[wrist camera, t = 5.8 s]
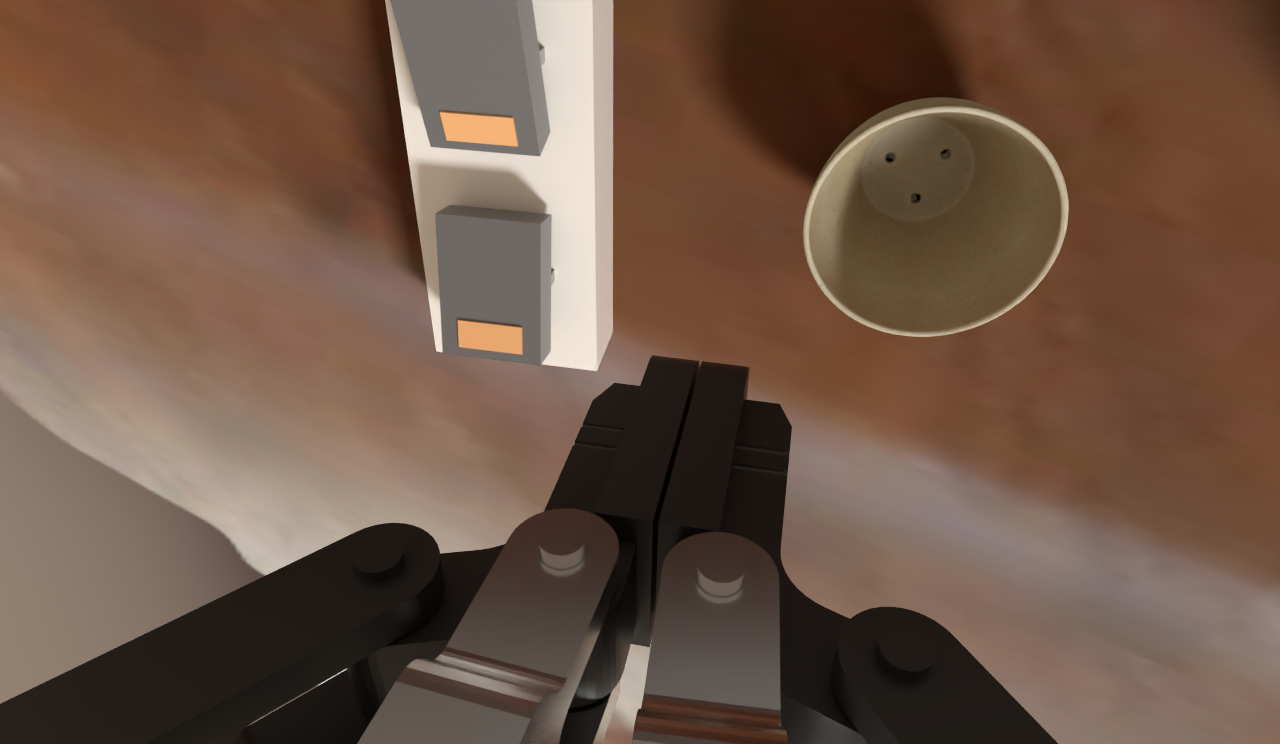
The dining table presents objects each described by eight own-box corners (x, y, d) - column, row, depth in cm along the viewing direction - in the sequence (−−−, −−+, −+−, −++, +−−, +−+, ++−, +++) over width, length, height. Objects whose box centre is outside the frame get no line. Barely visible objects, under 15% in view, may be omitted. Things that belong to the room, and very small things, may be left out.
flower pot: (845, 33, 36) (850, 77, 30) (1072, 87, 35) (1120, 143, 30) (781, 235, 42) (774, 305, 36) (974, 284, 41) (999, 363, 35)
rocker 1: (528, -26, 31) (514, -1, 30) (550, 131, 37) (539, 157, 35) (404, -33, 32) (386, -9, 31) (443, 122, 37) (429, 148, 36)
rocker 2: (551, 214, 38) (539, 224, 37) (550, 351, 41) (540, 366, 40) (450, 204, 39) (433, 213, 37) (456, 339, 42) (441, 354, 40)
